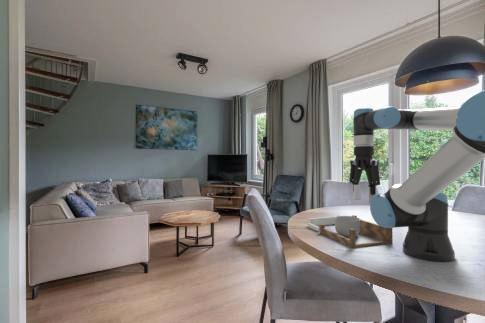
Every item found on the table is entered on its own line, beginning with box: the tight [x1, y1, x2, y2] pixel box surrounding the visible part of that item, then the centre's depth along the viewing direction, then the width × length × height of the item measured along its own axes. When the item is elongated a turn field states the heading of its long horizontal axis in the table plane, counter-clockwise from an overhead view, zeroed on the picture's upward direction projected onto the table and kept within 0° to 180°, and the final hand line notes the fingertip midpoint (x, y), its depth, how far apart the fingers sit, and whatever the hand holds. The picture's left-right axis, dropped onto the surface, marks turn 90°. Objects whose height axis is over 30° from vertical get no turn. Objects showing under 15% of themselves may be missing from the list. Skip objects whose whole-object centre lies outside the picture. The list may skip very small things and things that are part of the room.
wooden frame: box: [319, 215, 394, 249], centre depth 111 cm, size 22×20×7 cm
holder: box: [307, 216, 337, 233], centre depth 129 cm, size 10×19×4 cm, turn 106°
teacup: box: [334, 215, 361, 239], centre depth 116 cm, size 14×11×8 cm
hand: (364, 201), depth 105 cm, fingers open, 7 cm apart
